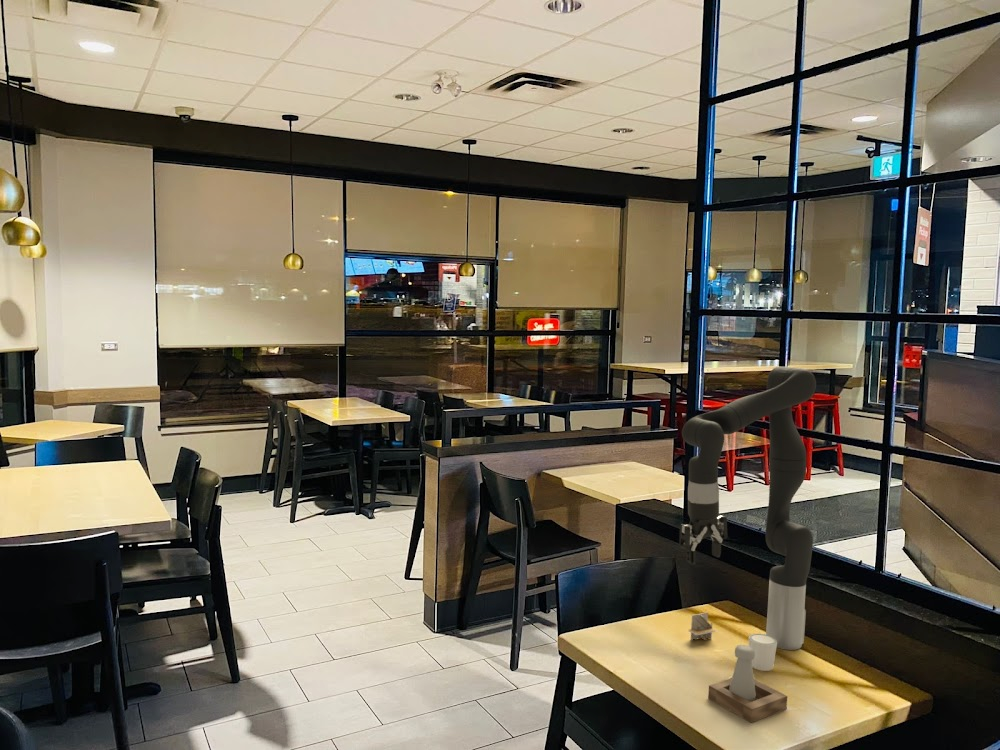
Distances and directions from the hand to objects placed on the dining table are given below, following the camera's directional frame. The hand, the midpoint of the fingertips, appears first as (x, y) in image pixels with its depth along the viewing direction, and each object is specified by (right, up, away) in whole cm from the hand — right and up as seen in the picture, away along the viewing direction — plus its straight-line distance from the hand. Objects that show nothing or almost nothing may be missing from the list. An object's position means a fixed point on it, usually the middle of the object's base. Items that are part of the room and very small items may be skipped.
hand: (703, 559), depth 189 cm
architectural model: (+3, -26, +14) cm, 30 cm away
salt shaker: (+3, -28, -20) cm, 34 cm away
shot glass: (+14, -27, 0) cm, 30 cm away
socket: (+4, -28, -20) cm, 34 cm away
